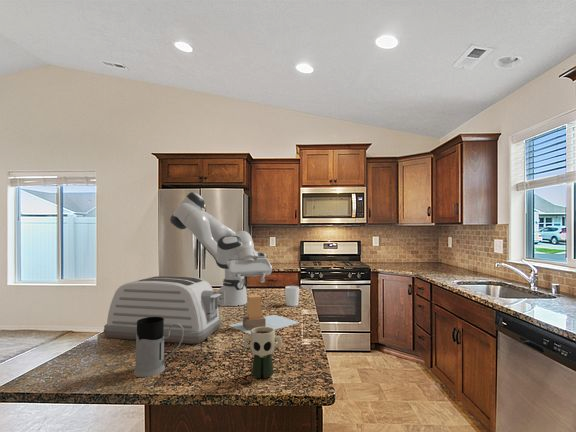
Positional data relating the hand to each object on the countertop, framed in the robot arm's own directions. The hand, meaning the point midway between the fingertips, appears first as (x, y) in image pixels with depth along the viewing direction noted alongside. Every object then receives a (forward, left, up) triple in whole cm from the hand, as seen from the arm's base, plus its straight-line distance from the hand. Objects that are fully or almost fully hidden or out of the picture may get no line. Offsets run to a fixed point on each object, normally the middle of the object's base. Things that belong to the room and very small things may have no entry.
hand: (252, 282), depth 145 cm
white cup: (-15, +38, -19) cm, 45 cm away
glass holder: (+19, -49, -19) cm, 55 cm away
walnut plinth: (+6, -4, -18) cm, 19 cm away
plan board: (+6, +2, -19) cm, 20 cm away
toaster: (-14, -33, -19) cm, 41 cm away
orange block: (+6, -4, -14) cm, 15 cm away
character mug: (+43, -28, -19) cm, 54 cm away
